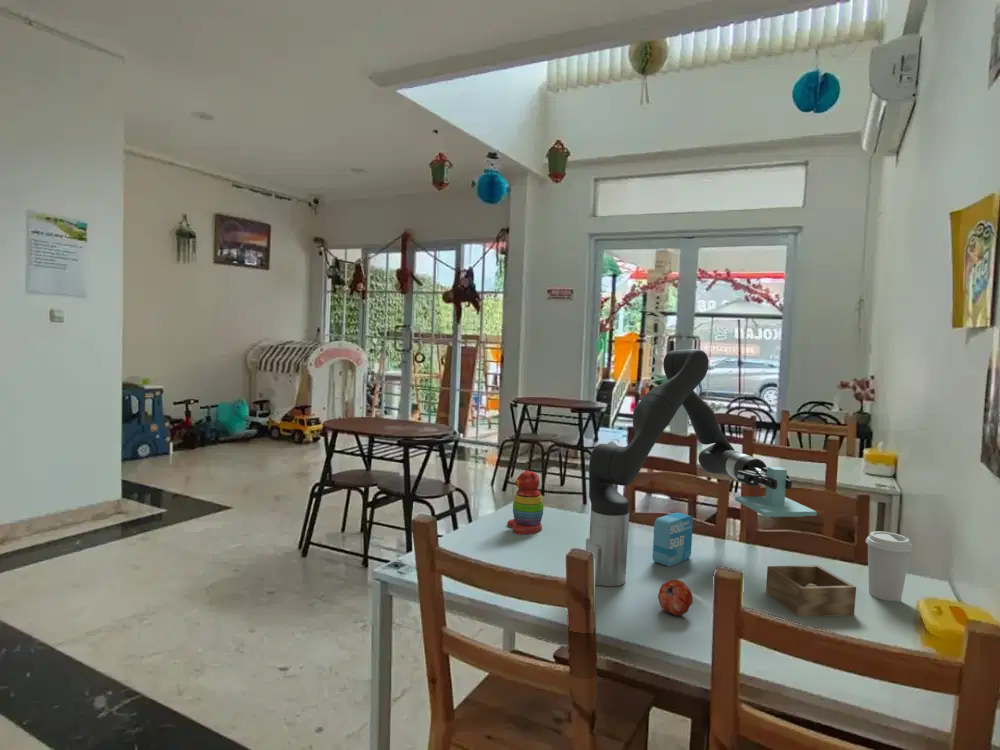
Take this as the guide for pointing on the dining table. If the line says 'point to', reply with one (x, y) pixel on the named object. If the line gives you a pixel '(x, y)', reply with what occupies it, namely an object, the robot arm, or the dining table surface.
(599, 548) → the robot arm
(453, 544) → the dining table surface
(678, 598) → the pomegranate
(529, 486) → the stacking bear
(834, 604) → the box
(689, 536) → the data package
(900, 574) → the coffee cup
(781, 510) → the lid
